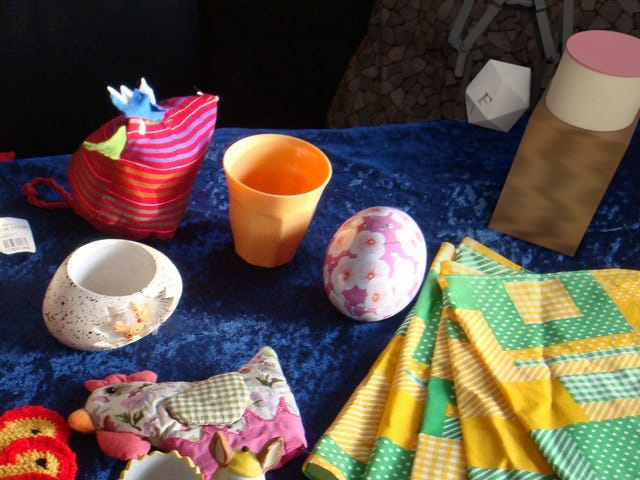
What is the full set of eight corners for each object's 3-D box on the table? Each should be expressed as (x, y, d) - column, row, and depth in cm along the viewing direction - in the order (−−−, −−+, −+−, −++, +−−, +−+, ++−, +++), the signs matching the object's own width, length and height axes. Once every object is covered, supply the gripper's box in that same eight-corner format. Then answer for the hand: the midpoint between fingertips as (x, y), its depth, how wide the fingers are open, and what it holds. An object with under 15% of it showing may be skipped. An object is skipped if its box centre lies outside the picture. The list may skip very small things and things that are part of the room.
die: (449, 108, 120) (452, 76, 110) (504, 70, 118) (513, 34, 109) (485, 153, 117) (491, 124, 108) (542, 115, 116) (554, 82, 106)
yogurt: (642, 100, 100) (669, 44, 95) (625, 141, 94) (654, 84, 89) (555, 77, 104) (577, 22, 99) (534, 115, 98) (556, 58, 93)
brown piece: (590, 213, 113) (646, 100, 100) (571, 259, 107) (628, 144, 94) (509, 187, 117) (553, 75, 104) (486, 230, 110) (530, 116, 98)
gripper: (608, -41, 111) (569, 128, 113) (446, -60, 115) (410, 104, 117) (628, -68, 104) (586, 114, 106) (454, -87, 108) (416, 89, 109)
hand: (494, 109), depth 111 cm, fingers closed on die, 8 cm apart
